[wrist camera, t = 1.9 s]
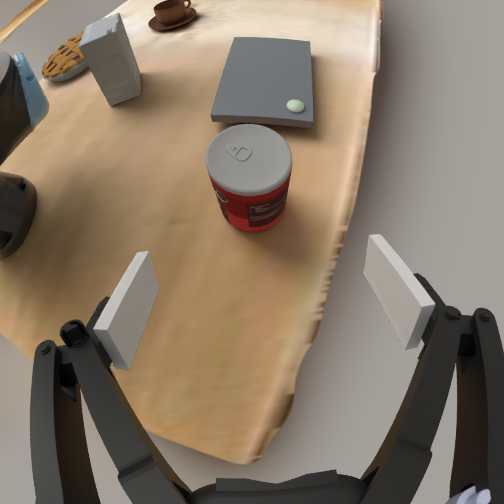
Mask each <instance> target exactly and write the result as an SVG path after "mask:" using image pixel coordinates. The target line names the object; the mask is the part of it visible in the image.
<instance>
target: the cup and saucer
mask: <svg viewBox="0 0 504 504" xmlns="http://www.w3.org/2000/svg"><path fill="white" fill-rule="evenodd" d="M185 1H188V6H186V7H185V4H184V2H185ZM190 5H191V1H190V0H166V1H163V2H161V3H159V4H157V5H156V6H155V7H154V12H155V15H156V16H155V17H153V18H152V19H151V20H150V21H149V23H148V25H149V27H150V28H152V29H155V30H166V29H171V28H175V27H178V26H181V25H183V24H185V23H187V22H189V21H190V20H192V19H193V18H194V16H195V15H196V10H195V9H193V8H189V7H190Z"/></svg>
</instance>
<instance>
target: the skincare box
mask: <svg viewBox="0 0 504 504" xmlns="http://www.w3.org/2000/svg"><path fill="white" fill-rule="evenodd" d="M78 47H79V49H80V51H81V53H82V55H83V56H84V58H85V60H86V62H87V64H88V66H89V68H90V70H91V72H92V74H93V75H94V77H95V79H96V81H97V83H98V85H99V86H100V88H101V90H102V92H103V94H104V96H105V97H106V99H107V101H108V103H109V105H110V106H113V105H116V104H118V103H121V102H123V101H126V100H129V99H132V98H134V97H137V96H139V95H141V83H140V70H139V68H138V65H137V62H136V59H135V57H134V54H133V51H132V48H131V45H130V42H129V40H128V37H127V34H126V31H125V28H124V25H123V22H122V19H121V16H120V14H119V13H117V14H114V15H112V16H109V17H107V18H104V19H102V20H99V21H97V22H94V23H92V24H90V25H88V26H86V28H85V31H84V33H83V36H82V38H81V41H80V44H79V46H78Z"/></svg>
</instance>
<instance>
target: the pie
mask: <svg viewBox="0 0 504 504" xmlns="http://www.w3.org/2000/svg"><path fill="white" fill-rule="evenodd" d="M83 33H84V31H83V32H81V33H80V34H79V35H77V36H76V37H73V38H71V39H69V40H68V42H67V43H66V44H65V45H61V46H60V48H58V50H57V51H56V52H55V53H54V54H53V55H51V56H50V57H49V60H48V62H46V63H45V64H44V66H43V70H42V75H43V78H44V79H48V80H52V81H57V82H62V81H65V80H69V79H71V78H73V77H74V76H76V75H78V74H79V73H81V72H83V71H84V70H85V69H87V68H88V67H89V66H88V64H87V62H86V60H85V58H84V56H83V55H82V53H81V51H80V49H79V47H78V46H79V44H80V41H81V38H82V36H83Z"/></svg>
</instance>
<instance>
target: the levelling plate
mask: <svg viewBox="0 0 504 504" xmlns="http://www.w3.org/2000/svg"><path fill="white" fill-rule="evenodd" d="M211 118H212V122H227V123H231V124H233V123H237V122H242V123H260V124H273V125H284V126H294V127H303V128H311V129H312V125H313V91H312V68H311V51H310V42H308V41H300V40H290V39H277V38H258V37H234V40H233V43H232V46H231V49H230V52H229V55H228V58H227V61H226V64H225V68H224V71H223V74H222V77H221V81H220V84H219V87H218V91H217V94H216V98H215V101H214V105H213V108H212V112H211Z"/></svg>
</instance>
